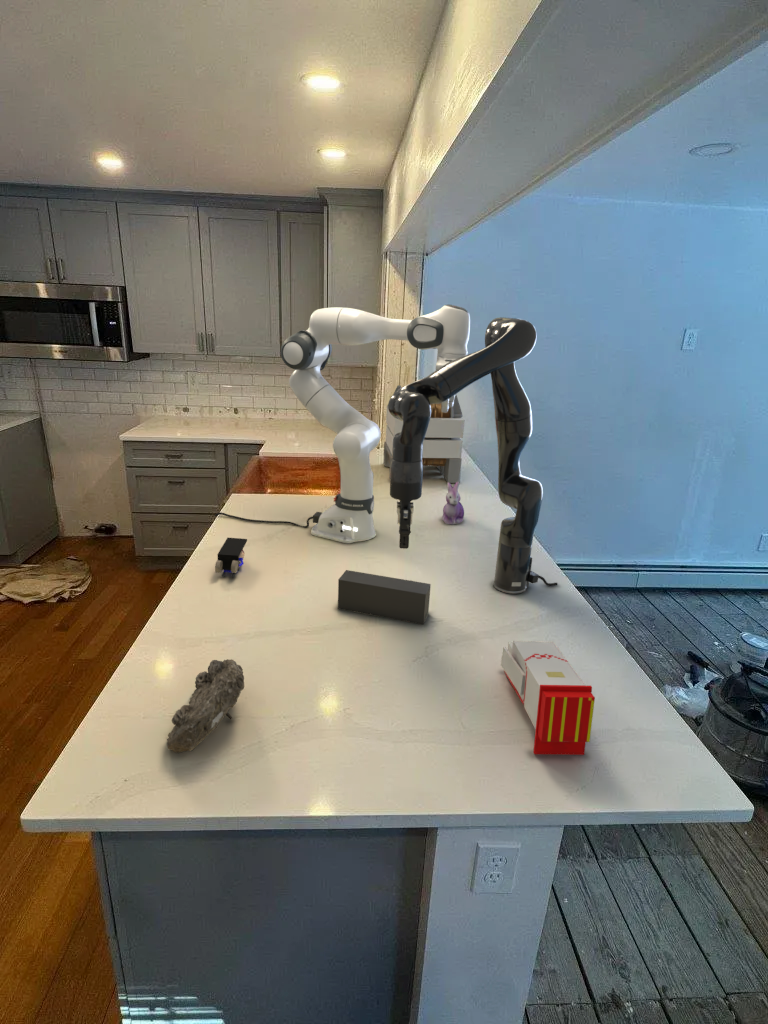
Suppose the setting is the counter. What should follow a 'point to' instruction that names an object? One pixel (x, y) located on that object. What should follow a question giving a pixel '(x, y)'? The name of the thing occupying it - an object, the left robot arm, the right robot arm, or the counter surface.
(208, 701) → the fossil
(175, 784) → the counter surface
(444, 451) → the transformer
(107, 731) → the counter surface
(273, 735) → the counter surface
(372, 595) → the box
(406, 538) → the right robot arm
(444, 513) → the figurine
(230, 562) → the black wheeled block
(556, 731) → the toy
